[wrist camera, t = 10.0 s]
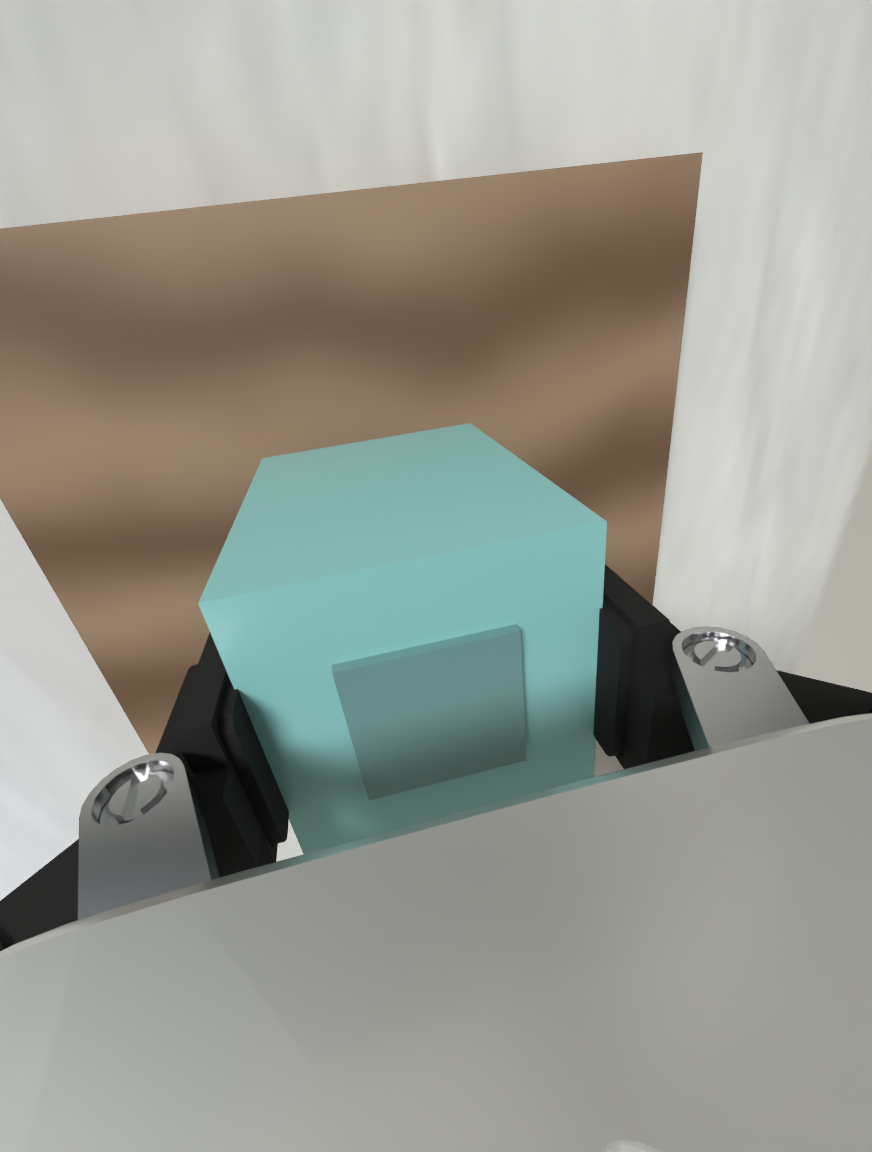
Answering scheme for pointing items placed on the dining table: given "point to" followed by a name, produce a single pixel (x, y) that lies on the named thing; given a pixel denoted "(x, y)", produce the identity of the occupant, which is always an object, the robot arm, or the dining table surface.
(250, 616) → the teal block
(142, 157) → the dining table surface
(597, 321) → the stud board
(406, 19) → the dining table surface
